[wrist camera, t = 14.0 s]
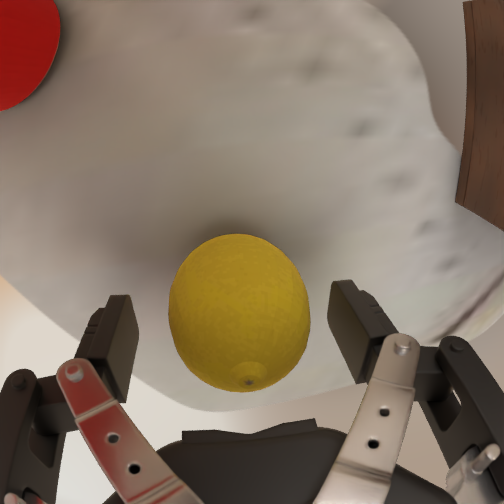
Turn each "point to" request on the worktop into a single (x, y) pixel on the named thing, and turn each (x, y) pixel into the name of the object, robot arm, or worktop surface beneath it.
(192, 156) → the worktop surface
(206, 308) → the lemon
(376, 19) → the worktop surface
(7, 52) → the beverage can
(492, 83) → the chest
